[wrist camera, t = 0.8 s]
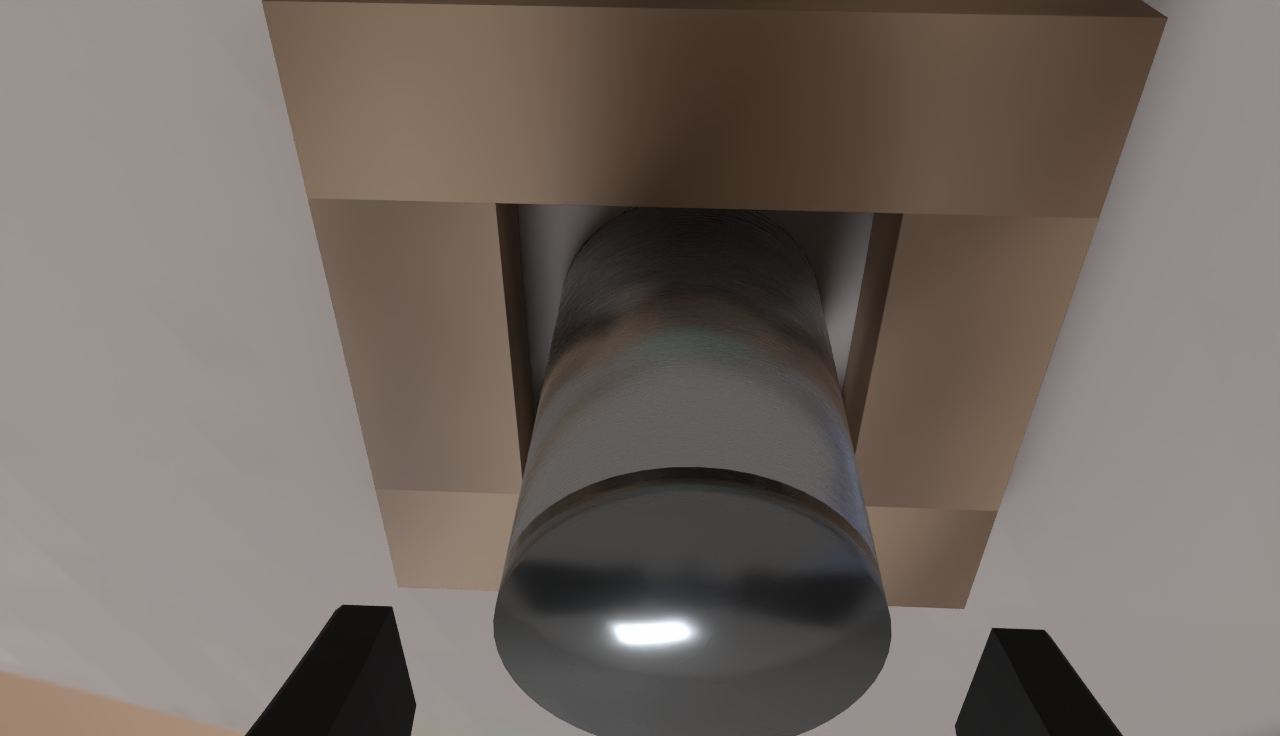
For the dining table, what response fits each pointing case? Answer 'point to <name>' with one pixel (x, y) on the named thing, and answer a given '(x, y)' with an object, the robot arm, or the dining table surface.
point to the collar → (719, 179)
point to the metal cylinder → (691, 494)
